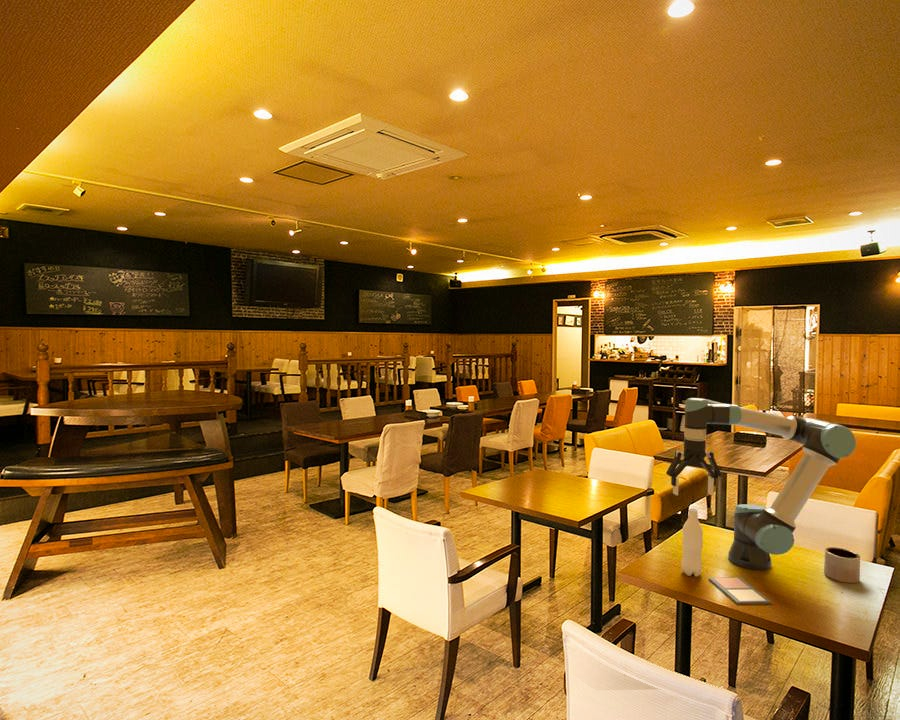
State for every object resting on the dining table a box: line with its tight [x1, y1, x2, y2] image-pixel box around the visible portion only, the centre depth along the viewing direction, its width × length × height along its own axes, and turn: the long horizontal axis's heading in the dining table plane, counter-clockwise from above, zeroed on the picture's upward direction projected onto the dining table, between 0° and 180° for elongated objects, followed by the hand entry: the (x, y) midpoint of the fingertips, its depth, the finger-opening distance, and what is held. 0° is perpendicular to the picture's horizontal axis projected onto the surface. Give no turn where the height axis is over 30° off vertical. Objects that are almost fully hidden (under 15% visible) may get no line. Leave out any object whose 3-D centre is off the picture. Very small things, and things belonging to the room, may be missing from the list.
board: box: [708, 576, 772, 605], centre depth 186 cm, size 12×18×1 cm, turn 2°
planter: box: [823, 546, 861, 584], centre depth 197 cm, size 11×11×10 cm
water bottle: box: [681, 507, 704, 577], centre depth 199 cm, size 7×7×25 cm
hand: (693, 494), depth 198 cm, fingers open, 13 cm apart
